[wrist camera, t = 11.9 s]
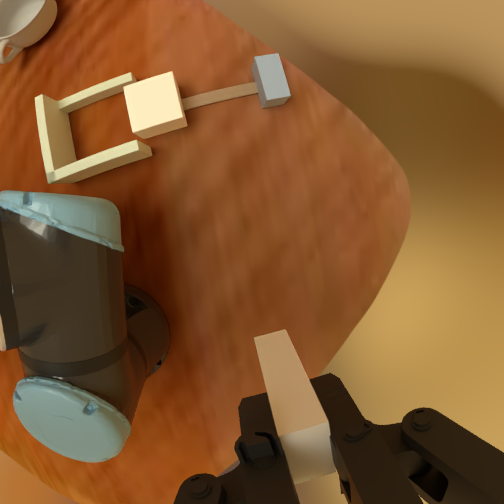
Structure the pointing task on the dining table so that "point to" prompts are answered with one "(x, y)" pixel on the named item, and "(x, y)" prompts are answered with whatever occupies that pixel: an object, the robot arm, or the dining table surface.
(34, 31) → the teacup
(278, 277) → the dining table surface
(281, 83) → the tethered block
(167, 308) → the dining table surface
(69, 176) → the shelf lane
